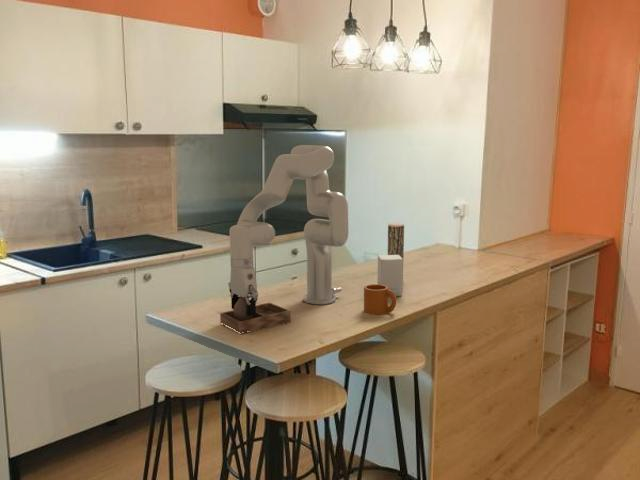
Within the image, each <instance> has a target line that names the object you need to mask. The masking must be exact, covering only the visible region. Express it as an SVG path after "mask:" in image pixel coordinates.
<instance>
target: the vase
mask: <svg viewBox="0 0 640 480" xmlns="http://www.w3.org/2000/svg"><path fill="white" fill-rule="evenodd" d="M238 297H239V296H238ZM247 304H248V303H247V301H246V299H245V298H243V297H241V296H240V297H239V300H238V301H237V302H236V304H235V306H234V309H232V310H233V314H234V318H235V319H237V320H239V321H245V320H249V319H253V316H254V315H253V316H247V307H246V305H247Z"/></svg>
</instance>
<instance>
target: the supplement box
mask: <svg viewBox="0 0 640 480" xmlns="http://www.w3.org/2000/svg"><path fill="white" fill-rule="evenodd" d="M403 281H404V258H403V259H402V258H401V257H400V256H399V255H388V254H378V255H377V284H381V285H386V286H388V290H391V291H392V292H393V293H394V295H395V297H403V285H404V284H403V283H404V282H403Z"/></svg>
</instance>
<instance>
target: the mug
mask: <svg viewBox="0 0 640 480" xmlns="http://www.w3.org/2000/svg"><path fill="white" fill-rule="evenodd" d="M396 297H397V296H395V295H394V293H393V292H392V291H391V290H388V286H386V285H381V284H378V283H375V284H373V283H372V284H366V285H364V287H363V311H364V313H366V314H369V315H383V314H387V313H388V314H389V313H392V312H393V311H394V309H395V308H396V306H397V298H396ZM389 298H390V301H391V303H390V305H389Z"/></svg>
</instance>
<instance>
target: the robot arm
mask: <svg viewBox="0 0 640 480" xmlns="http://www.w3.org/2000/svg"><path fill="white" fill-rule="evenodd" d="M334 161H335V154H334V151H333V150H332V149H331V148H330V147H329V146H327V145H311V144H301V145H296V146H294V147H293V148H292V149H291V152H290V153H286V154H285V153H283V154H280V155H278V157H276V158H275V161H274V163H273V165H272V167H271V170H270V172H269V175H268V177H267V179H266V181H265V184H264V187H263V189H262V190H261V191H260V192H259V193H258V194H256V195H255V196H254V197H253V199H251V200H250V201H249V202H248V203H247V204H246V205H245V207H244V208H243V210H242V212H241V213H240V216H239V218H238V221H237V222H236V224H234V225H232V226H231V227H230V228H229V254H230V255H229V256H230V257H229V259H230V280H229V282H228V288H229V293H230V295H229V296H230V298H231V301H230V302H231V310H233V309H234V306H235V304H236V302H237V301H238V300H239V297H240V296H241V297H243V298H245V299H246V301H247V303H248V304H247V305H246V307H247V316H253V315H256V304H257V301H258V297H259V292H258V285H257V284H258V283H257V276H256V271H255V267H254V266H255V265H254V246H264V245H269V244H270V243H271V242H274V239H275V237H276V230H275V227H274V226H273V225H271V224H270V223H267V222H264V221H263V222H262V221H257V220H259V218H260V216H261V215H262V214H263V213H265V212H266V211H267V210H269V209H271V208H273V207H276V206H279V205H280V204H283V203H284V202H285V201H286V199H287V196H288V194H289V192H290V190H291V188H292V185H293V183H294V180H305V186H306V206H307V211H308V213H309V214H311V215H313V216H316V217H325V218H328V219H323V218H312V219H310V220H308V221H307V222H306V223H305V225H304V229H303V236H304V241H305V246H306V247H305V248H306V288H307V289H306V294H305V295H304V296H303V297H302V300H303V302H305V303H307V304H309V303H310V305H329V304H333V303H334V302H336V300H337V297H336V295H335V294H337V293H341V292H342V287H340V286H339V287H334V286H333V271H332V270H333V268H332V267H333V255H332V251H331V249H330V247H335V248H340V247H344V245H345V244H346V243H347V241H348V238H349V204H348V200H347V198H346V196H345V195H344V194H343V193H341V192H338V191H331V190H330V179H329V174H328V171H327V170H329V169H330V168H331V167H332V166H333V164H334Z"/></svg>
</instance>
